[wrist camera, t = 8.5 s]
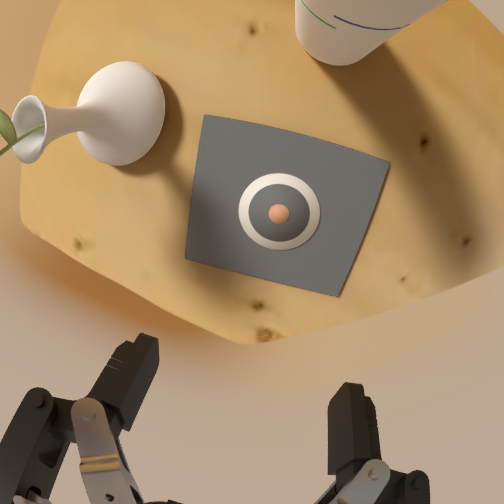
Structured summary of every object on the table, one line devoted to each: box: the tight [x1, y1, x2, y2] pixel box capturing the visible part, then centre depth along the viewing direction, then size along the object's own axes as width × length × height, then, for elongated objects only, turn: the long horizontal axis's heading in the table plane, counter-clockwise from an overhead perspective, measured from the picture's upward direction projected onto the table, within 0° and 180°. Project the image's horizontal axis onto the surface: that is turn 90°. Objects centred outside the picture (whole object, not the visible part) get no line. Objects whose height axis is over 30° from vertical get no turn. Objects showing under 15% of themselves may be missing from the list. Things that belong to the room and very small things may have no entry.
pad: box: [185, 115, 389, 297], centre depth 28 cm, size 18×16×1 cm
